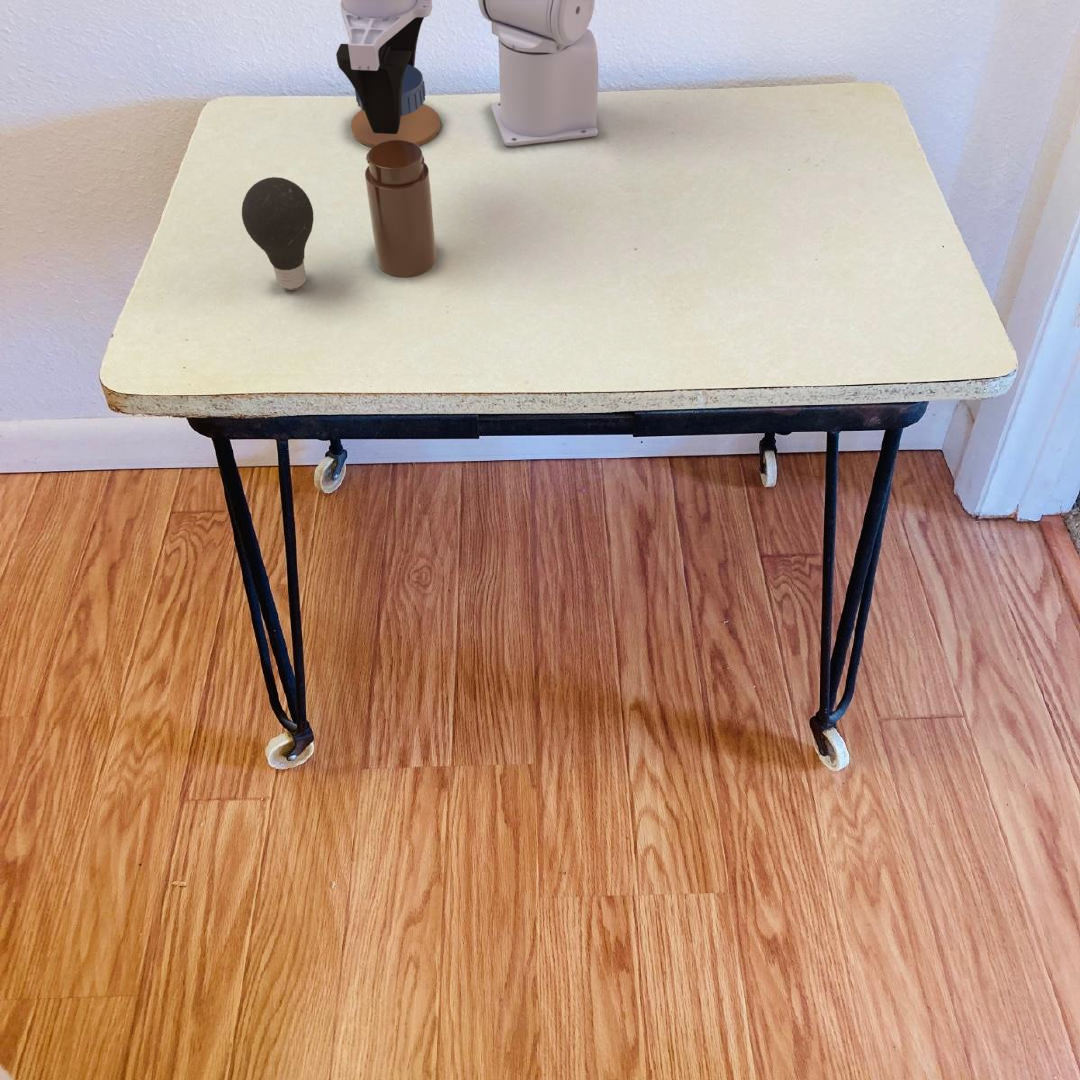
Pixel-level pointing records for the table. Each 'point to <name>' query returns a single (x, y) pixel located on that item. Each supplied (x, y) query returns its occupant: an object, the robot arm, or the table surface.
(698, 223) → the table surface
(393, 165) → the jar
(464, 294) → the table surface
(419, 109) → the coaster
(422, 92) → the jar lid
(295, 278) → the light bulb
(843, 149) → the table surface
